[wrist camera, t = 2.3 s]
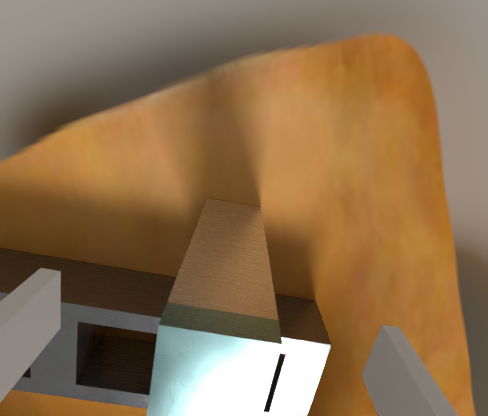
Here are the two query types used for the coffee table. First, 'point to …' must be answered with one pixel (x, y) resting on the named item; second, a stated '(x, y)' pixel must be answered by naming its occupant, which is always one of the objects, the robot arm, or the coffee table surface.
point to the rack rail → (140, 352)
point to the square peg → (219, 321)
